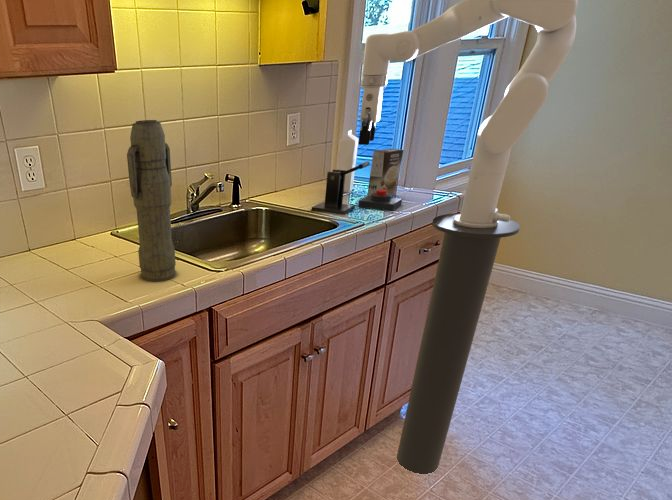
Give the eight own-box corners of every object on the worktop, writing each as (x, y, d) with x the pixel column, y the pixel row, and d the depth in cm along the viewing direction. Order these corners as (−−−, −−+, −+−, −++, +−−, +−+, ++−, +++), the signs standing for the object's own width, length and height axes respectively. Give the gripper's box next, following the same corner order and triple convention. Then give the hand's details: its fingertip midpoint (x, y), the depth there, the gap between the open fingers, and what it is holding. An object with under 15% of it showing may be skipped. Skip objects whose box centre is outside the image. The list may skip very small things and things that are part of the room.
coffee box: (380, 199, 185) (386, 152, 176) (366, 196, 189) (372, 150, 181) (396, 195, 189) (404, 149, 180) (383, 192, 193) (389, 147, 185)
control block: (401, 205, 175) (403, 193, 173) (392, 210, 169) (394, 198, 167) (367, 201, 182) (369, 190, 180) (358, 207, 176) (359, 195, 174)
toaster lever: (370, 166, 163) (368, 159, 163) (363, 169, 159) (361, 162, 159) (337, 180, 172) (335, 173, 171) (329, 183, 168) (327, 176, 167)
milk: (352, 189, 200) (360, 129, 189) (349, 192, 195) (356, 131, 184) (337, 188, 203) (343, 129, 191) (333, 191, 198) (340, 131, 187)
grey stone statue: (186, 270, 127) (179, 118, 110) (158, 286, 119) (145, 124, 101) (159, 265, 132) (147, 118, 114) (129, 279, 123) (112, 123, 106)
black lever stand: (354, 208, 174) (359, 170, 167) (344, 214, 168) (348, 174, 161) (322, 205, 180) (325, 167, 174) (311, 210, 174) (314, 171, 168)
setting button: (388, 195, 174) (388, 189, 173) (384, 197, 171) (385, 191, 171) (377, 194, 176) (378, 188, 175) (374, 196, 173) (374, 190, 173)
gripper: (382, 82, 145) (374, 146, 153) (390, 80, 158) (382, 139, 167) (356, 83, 148) (349, 146, 156) (365, 81, 161) (359, 139, 170)
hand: (366, 142), depth 161 cm, fingers open, 9 cm apart
